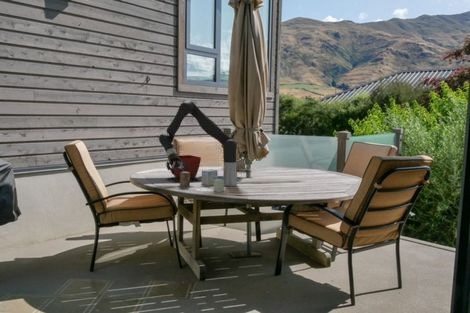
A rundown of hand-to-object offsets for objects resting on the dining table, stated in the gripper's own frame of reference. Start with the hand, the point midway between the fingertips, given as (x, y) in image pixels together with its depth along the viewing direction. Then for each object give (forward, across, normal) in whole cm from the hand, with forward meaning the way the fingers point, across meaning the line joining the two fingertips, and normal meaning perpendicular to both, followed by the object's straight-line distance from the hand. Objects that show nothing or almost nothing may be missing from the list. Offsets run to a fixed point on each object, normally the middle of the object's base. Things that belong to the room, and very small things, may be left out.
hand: (179, 173), depth 307 cm
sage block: (+29, +13, -17) cm, 36 cm away
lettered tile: (+24, +6, -12) cm, 27 cm away
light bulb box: (+11, +21, +1) cm, 24 cm away
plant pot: (-14, +20, +27) cm, 36 cm away
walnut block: (+12, 0, -1) cm, 12 cm away
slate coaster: (+12, 0, 0) cm, 12 cm away
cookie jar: (-31, +85, +44) cm, 101 cm away
